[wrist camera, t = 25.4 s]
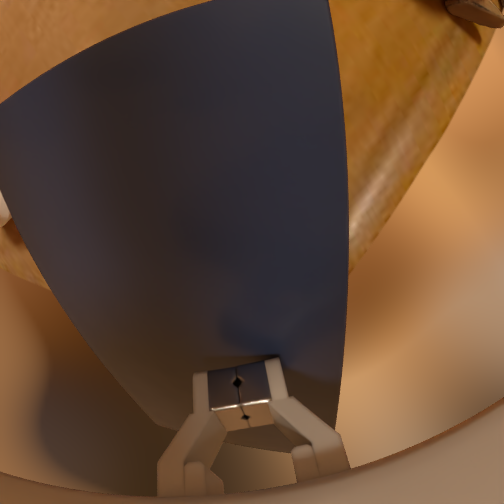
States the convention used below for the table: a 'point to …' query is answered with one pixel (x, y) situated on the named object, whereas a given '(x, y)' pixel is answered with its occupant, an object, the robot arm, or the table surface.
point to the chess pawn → (4, 212)
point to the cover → (193, 201)
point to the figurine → (477, 12)
